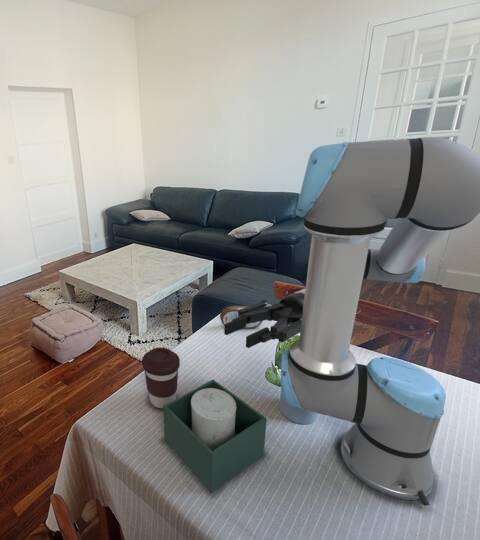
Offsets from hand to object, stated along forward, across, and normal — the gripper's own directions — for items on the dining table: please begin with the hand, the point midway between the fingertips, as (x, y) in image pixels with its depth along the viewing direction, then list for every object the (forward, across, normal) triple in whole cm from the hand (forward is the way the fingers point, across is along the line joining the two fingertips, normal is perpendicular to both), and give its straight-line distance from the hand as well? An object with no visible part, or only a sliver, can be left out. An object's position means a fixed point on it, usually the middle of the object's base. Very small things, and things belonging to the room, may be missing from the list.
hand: (236, 335), depth 77 cm
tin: (-34, +29, -25) cm, 51 cm away
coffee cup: (+11, +15, -24) cm, 31 cm away
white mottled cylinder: (+11, -4, -24) cm, 26 cm away
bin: (+11, -4, -24) cm, 27 cm away
